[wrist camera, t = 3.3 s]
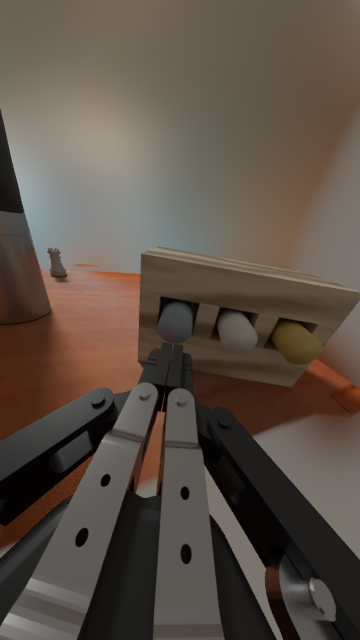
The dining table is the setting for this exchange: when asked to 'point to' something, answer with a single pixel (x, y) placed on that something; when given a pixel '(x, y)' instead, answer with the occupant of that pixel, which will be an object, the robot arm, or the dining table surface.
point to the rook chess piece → (56, 263)
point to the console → (241, 294)
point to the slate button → (176, 321)
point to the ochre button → (295, 342)
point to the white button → (235, 331)
